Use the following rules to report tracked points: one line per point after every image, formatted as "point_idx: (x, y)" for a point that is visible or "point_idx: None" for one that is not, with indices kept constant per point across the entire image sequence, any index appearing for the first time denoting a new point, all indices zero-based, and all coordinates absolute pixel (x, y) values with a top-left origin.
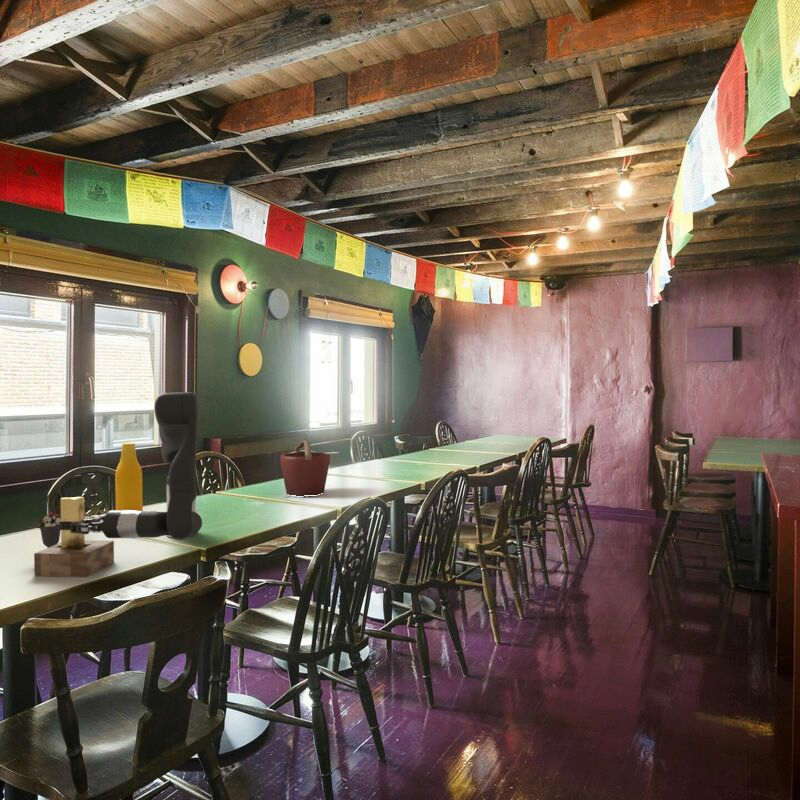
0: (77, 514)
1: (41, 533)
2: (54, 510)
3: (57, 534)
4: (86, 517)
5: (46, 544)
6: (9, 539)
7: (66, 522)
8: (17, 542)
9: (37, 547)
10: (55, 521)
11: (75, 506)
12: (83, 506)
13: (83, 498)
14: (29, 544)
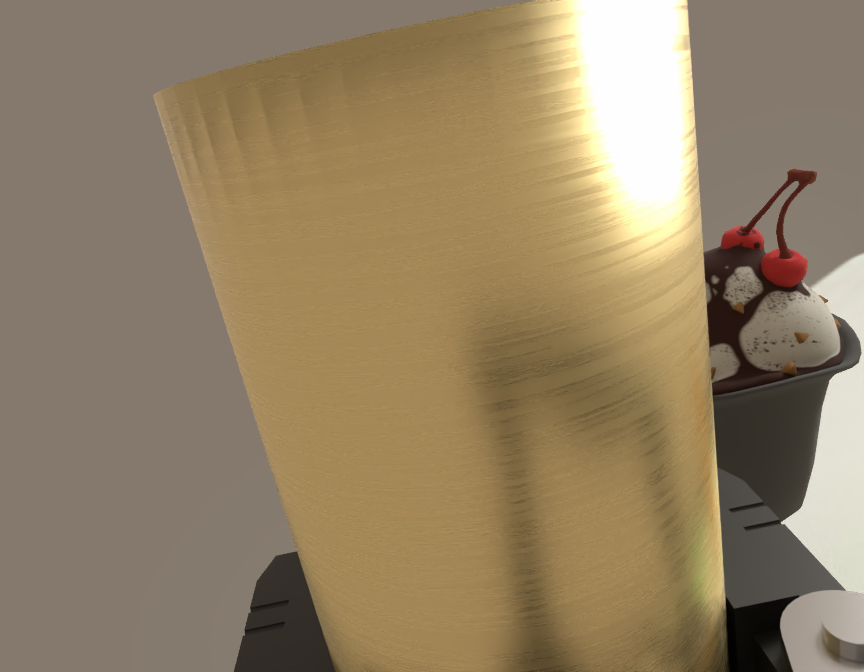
0: (345, 587)
1: None
2: (767, 209)
3: (756, 459)
4: (816, 654)
5: None
6: (841, 275)
7: (290, 605)
8: (838, 306)
9: (858, 387)
10: (742, 330)
11: (246, 337)
12: (549, 375)
13: (520, 27)
14: (860, 341)
